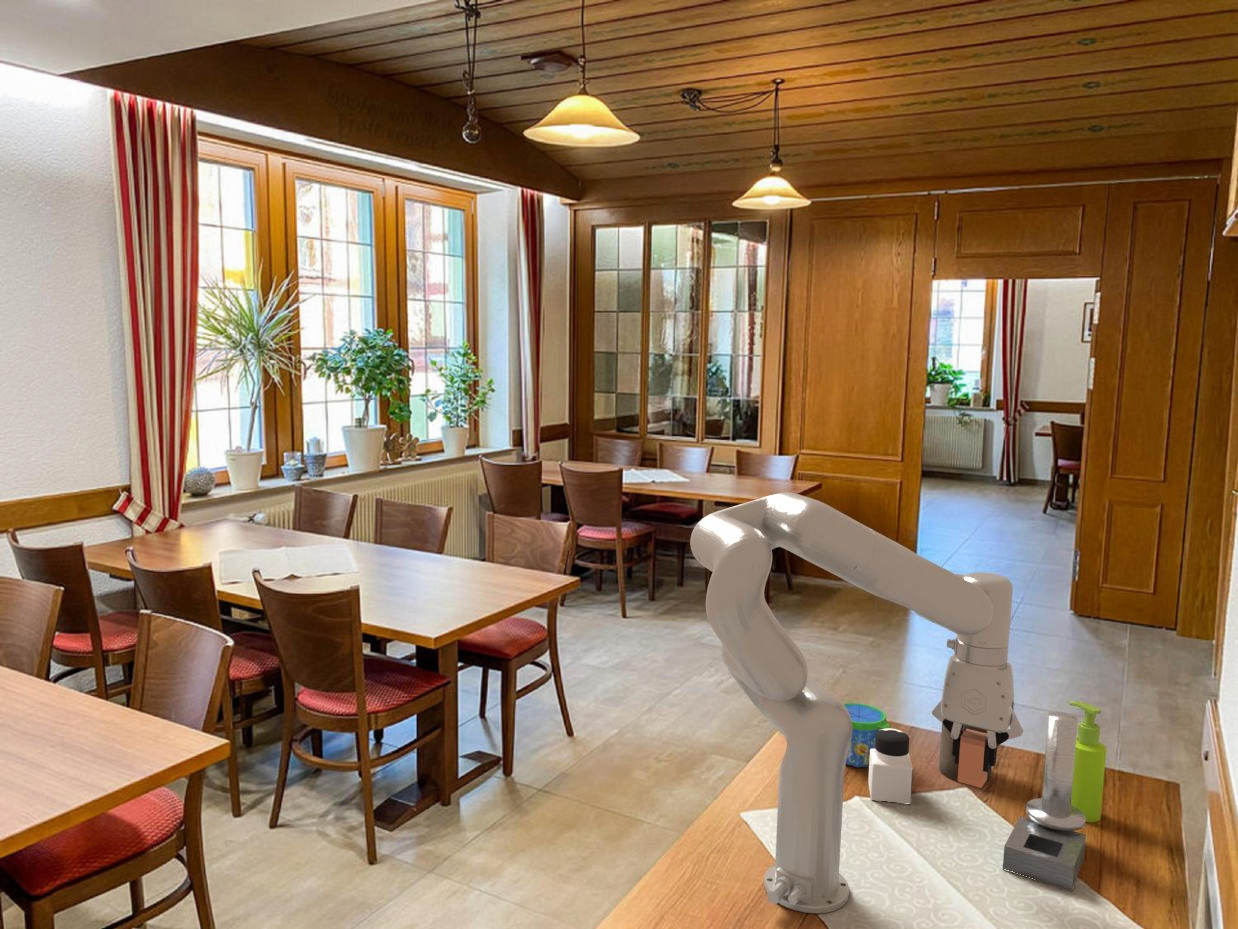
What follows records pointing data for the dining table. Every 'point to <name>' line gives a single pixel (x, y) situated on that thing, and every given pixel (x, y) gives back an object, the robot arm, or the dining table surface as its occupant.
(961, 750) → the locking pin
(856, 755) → the snack cup
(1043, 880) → the slotted block
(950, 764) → the pillar candle
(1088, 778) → the soap dispenser
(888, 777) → the medicine bottle
